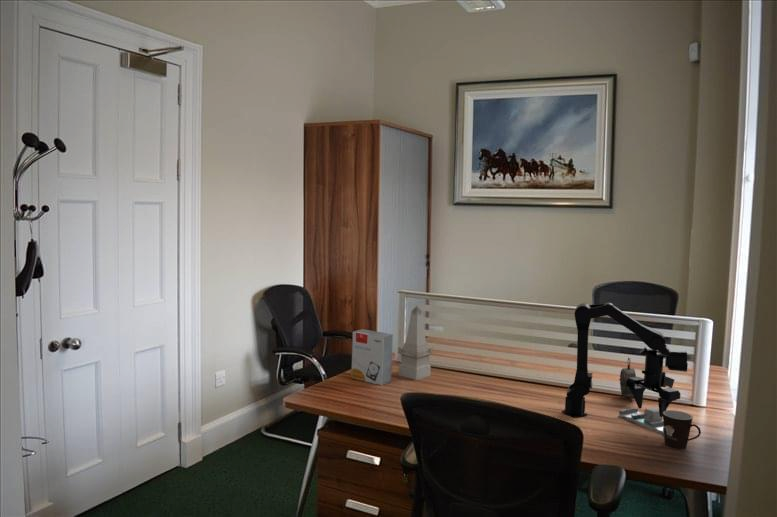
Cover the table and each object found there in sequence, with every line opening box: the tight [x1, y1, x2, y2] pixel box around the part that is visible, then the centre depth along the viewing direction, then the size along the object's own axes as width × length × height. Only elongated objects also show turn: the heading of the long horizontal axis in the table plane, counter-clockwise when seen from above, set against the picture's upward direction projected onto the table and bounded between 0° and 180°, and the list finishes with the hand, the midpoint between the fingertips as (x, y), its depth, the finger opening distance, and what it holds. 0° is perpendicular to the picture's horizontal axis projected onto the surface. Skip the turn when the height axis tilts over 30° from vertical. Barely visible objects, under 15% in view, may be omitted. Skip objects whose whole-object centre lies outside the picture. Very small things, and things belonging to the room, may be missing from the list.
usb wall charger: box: [641, 407, 663, 422], centre depth 223 cm, size 4×7×4 cm, turn 120°
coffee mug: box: [662, 409, 702, 450], centre depth 203 cm, size 12×9×10 cm
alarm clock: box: [619, 357, 637, 403], centre depth 250 cm, size 11×5×16 cm, turn 168°
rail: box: [618, 407, 664, 436], centre depth 223 cm, size 8×20×2 cm, turn 27°
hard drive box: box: [350, 328, 394, 386], centre depth 265 cm, size 16×8×20 cm, turn 58°
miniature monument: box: [397, 306, 434, 381], centre depth 273 cm, size 10×10×30 cm
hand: (650, 412), depth 223 cm, fingers open, 9 cm apart
